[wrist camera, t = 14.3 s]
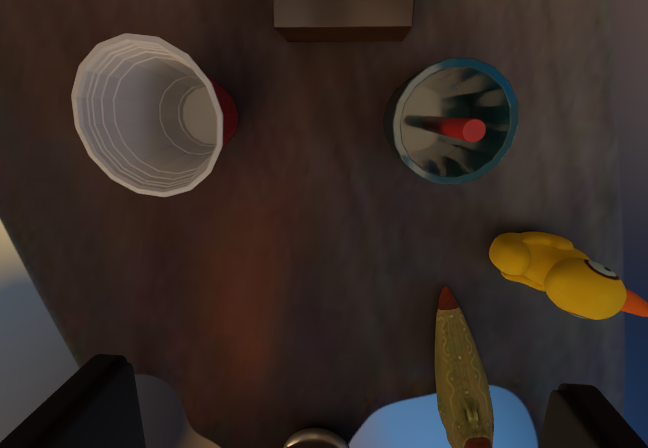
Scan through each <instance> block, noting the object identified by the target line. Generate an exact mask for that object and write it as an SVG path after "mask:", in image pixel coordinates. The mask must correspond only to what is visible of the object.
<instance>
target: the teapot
mask: <svg viewBox="0 0 648 448" xmlns="http://www.w3.org/2000/svg"><path fill="white" fill-rule="evenodd" d="M283 448H349V446H348V444H347V443H346V442H345V440H344V439H343V438H342V437H340V436H339V435H338V434H336V433H334V432H332V431H330V430H327V429H323V428H306V429H302V430H300V431H298V432H296V433H294V434H293V435H292V436H291V437H289V439H288V440H287V441H286V443H285V444H284V447H283Z"/></svg>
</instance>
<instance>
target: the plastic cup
mask: <svg viewBox="0 0 648 448" xmlns="http://www.w3.org/2000/svg"><path fill="white" fill-rule="evenodd" d="M71 98H72V106H73V113H74V121H75V127H76V129H77V132H78V134H79V136H80V138H81V140H82V142H83V144H84V146H85V148H86V150H87V152H88V154H89V156H90V157H91V158H92V159H93V160H94V161H95V162H96V163H97V164H98V166H99V167H100V168H101V169H102V170H103V171H104V172H105V173H106V174H107V175H108V176H109V177H110V178H111V179H112V180H114V181H116V182H118V183H120V184H122V185H123V186H125V187H127V188H129V189H131V190H133V191H135V192H136V193H140V194H147V195H154V196H161V197H167V196H171V195H175V194H178V193H182V192H186V191H190V190H191V189H193V188H194V187H195V186H196V185H197V184H198V183H200V182H201V181H202V180H203V179H204V178H205V177H207V176H208V175H209V174H210V173H211V171H212V169H213V167H214V164H215V162H216V160H217V157H218V155H219V153H220V151H221V149H222V148H223V147H224V146H225V145H226V144H227V143H228V141H229V140H230V139H231V138H233V135H234V133H235V131H236V129H237V127H238V111H237V108H236V105H235V102H234V100H233V99H232V98H231V96H230V95H229V94H228V93H227V91H226V90H224V89H223V88H222V87H221V86H220V85H219V84H218V83H217V82H215V81H214V80H212V79H211V78H210V77H208V76H207V75H205V74H204V73H203V72H202V70H201V69H200V68H199V67H198V65H197V64H196V63H195V62H194V61H193V59H192V58H191V57H190V56H189V55H188V54H186V53H185V52H183V51H181V50H179V49H178V48H176V47H174V46H173V45H171V44H169V43H167V42H166V41H164V40H162V39H161V38H159V37H154V36H145V35H137V34H129V33H125V34H122V35H120V36H117V37H114V38H112V39H109V40H106V41H104V42H101V43H98V44H97V45H96V46H95V48H94V49H93V50H92V51H91V52H90V53H89V55H88V56H87V57H86V58H85V59H84V60H83V62H82V63H81V64H80V65H79V67H78V71H77V75H76V79H75V83H74V86H73V90H72V94H71Z"/></svg>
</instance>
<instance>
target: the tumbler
mask: <svg viewBox="0 0 648 448" xmlns="http://www.w3.org/2000/svg"><path fill="white" fill-rule="evenodd" d="M428 116H432V117H452V118H471V119H479V120H481V121H482V122H483V123H484V124H485V127H486V131H485V134H484V136H483V138H482V139H480V140H479V141H477V142H468V141H464V140H460V139H457V138H453V137H449V136H445V135H441V134H437V133H434V132H430V131H426V130H424V129H423V127H422V121H423V120H424V118H426V117H428ZM383 123H384V133H385V137H386V139H387V141H388V144H389V145H390V147H391V149H392V150H393V152H394V153H395V154H396V155H397V156H398V157H399V158H400V159H401V160H402V161H403V162H404V163H405V164H406V165H407V166H408V167H409V168H410V169H411V170H412V171H413V172H414V173H416V174H417V175H418V176H419V177H422V178H424V179H427V180H429V181H432V182H434V183H437V184H461V183H464V182H468V181H471V180H474V179H477V178H479V177H481V176H483V175H484V174H485V173H487V172H488V171H490V170H491V169H492V168H494V167H495V166H497V164H499V162H500V161H501V160H502V158H503V157H504V156H505V154H506V153H507V152H508V150H509V149H510V147H511V146H512V143H513V140H514V137H515V134H516V131H517V128H518V103H517V99H516V97H515V94H514V92H513V90H512V87H511V85H510V83H509V81H508V80H507V79H506V78H505V77H504V76H503V75H502V74H501V73H500V72H499V71H498V70H497V69H496V68H495V67H493V66H491V65H489V64H486V63H484V62H481V61H479V60H476V59H473V58H450V59H446V60H444V61H441V62H438V63H436V64H433V65H430V66H428V67H426V68H425V69H423V70H422V71H420V72H419V73H417V74H416V75H414V76H413V77H411V78H409V79H408V80H407V81H406V82H404V83H403V84H402V85H401V86H400V87H398V88H397V89H396V90H395V92H394V93H393V95H392V96H391V98H390V100H389V102H388V103H387V106H386V109H385V113H384V119H383Z"/></svg>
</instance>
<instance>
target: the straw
mask: <svg viewBox="0 0 648 448" xmlns="http://www.w3.org/2000/svg"><path fill="white" fill-rule="evenodd" d="M422 127H423V129H424V130H426V131H430V132H434V133H437V134H441V135H445V136H449V137H453V138H457V139H460V140H464V141H468V142H477V141H479V140H480V139H482V138H483V136H484V134H485V131H486V127H485V124H484V123H483V122H482V121H481V120H479V119H471V118H452V117H432V116H428V117H426V118H424V120H423V121H422Z"/></svg>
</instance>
